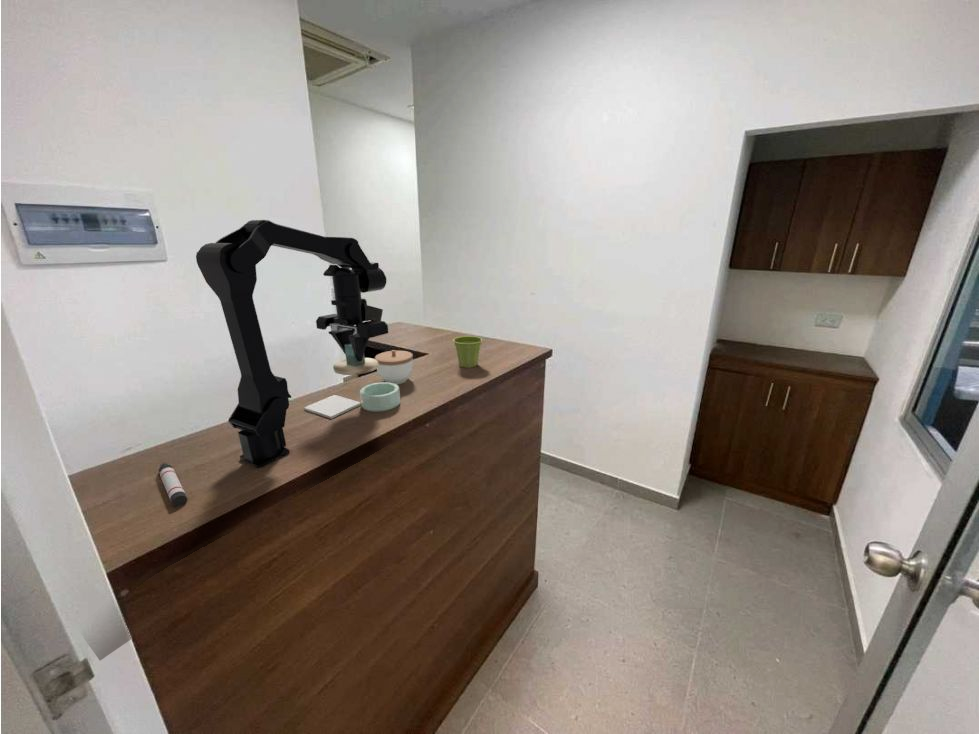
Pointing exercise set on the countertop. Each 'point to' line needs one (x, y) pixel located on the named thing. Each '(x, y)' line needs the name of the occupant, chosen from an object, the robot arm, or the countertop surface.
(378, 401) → the bowl
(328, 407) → the mat
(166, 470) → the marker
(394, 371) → the lidded jar
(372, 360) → the lid
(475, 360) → the plant pot
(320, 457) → the countertop surface
